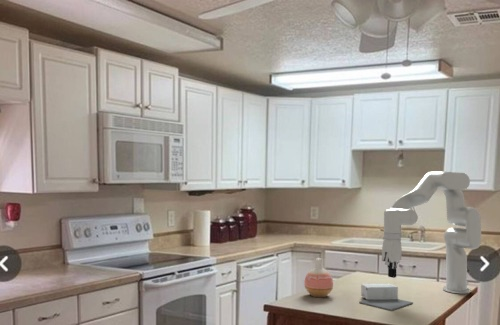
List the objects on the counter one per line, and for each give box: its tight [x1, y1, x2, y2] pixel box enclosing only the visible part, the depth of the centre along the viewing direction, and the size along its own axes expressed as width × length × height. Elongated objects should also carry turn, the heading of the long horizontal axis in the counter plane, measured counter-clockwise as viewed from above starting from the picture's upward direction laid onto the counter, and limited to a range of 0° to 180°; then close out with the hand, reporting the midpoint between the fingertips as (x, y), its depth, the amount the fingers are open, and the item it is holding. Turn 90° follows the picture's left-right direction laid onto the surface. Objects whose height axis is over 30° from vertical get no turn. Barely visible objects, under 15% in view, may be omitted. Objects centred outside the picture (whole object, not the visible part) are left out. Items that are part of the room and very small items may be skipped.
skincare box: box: [360, 283, 399, 300], centre depth 218 cm, size 8×6×15 cm
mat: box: [359, 298, 414, 312], centre depth 210 cm, size 18×16×1 cm
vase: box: [303, 257, 334, 298], centre depth 222 cm, size 14×14×18 cm
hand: (392, 276), depth 213 cm, fingers closed
